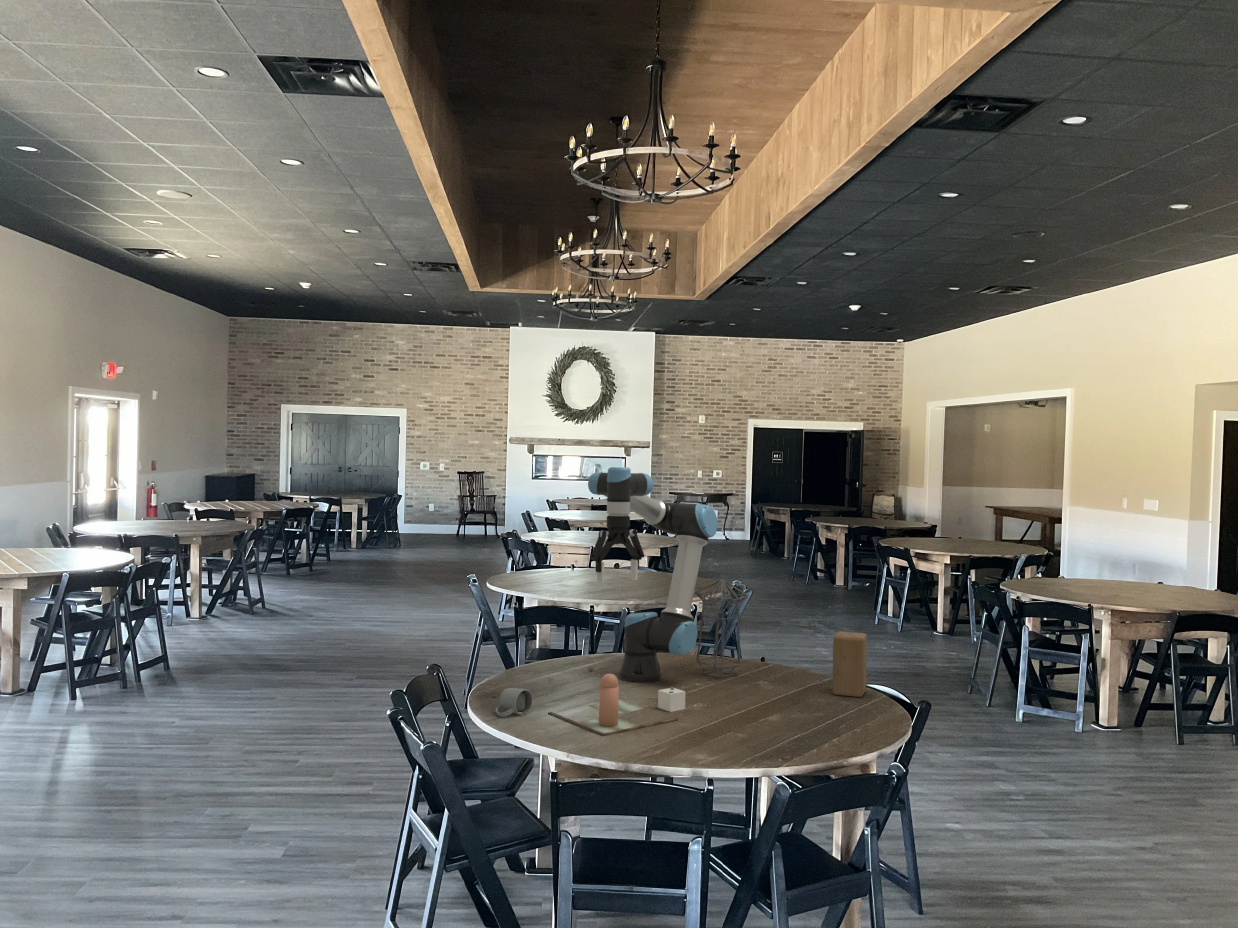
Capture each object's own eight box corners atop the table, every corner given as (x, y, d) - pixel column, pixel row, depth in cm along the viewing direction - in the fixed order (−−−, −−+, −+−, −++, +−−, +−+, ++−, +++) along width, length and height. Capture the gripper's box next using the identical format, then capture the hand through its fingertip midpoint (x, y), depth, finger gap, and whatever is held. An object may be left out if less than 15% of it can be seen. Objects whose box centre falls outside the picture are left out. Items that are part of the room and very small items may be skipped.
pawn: (610, 720, 274) (611, 670, 274) (622, 724, 269) (623, 674, 269) (595, 723, 270) (596, 672, 270) (606, 727, 266) (607, 676, 266)
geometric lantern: (715, 668, 350) (719, 575, 350) (748, 676, 338) (752, 580, 338) (687, 673, 339) (691, 578, 339) (719, 682, 328) (723, 583, 328)
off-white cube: (672, 706, 293) (672, 687, 293) (685, 710, 288) (685, 690, 288) (657, 709, 289) (658, 689, 289) (670, 713, 284) (670, 693, 284)
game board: (620, 700, 299) (620, 698, 299) (678, 720, 277) (678, 718, 277) (548, 713, 282) (548, 711, 282) (603, 735, 260) (603, 733, 260)
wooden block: (831, 694, 311) (832, 635, 311) (836, 688, 320) (837, 630, 320) (862, 698, 307) (863, 637, 307) (866, 691, 316) (867, 632, 316)
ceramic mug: (513, 707, 289) (513, 683, 288) (533, 712, 284) (533, 687, 284) (489, 715, 280) (489, 690, 280) (508, 720, 275) (509, 694, 275)
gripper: (641, 513, 309) (640, 577, 309) (579, 515, 293) (579, 582, 293) (655, 514, 303) (654, 579, 303) (594, 516, 287) (593, 584, 287)
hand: (617, 581), depth 298 cm, fingers open, 13 cm apart
